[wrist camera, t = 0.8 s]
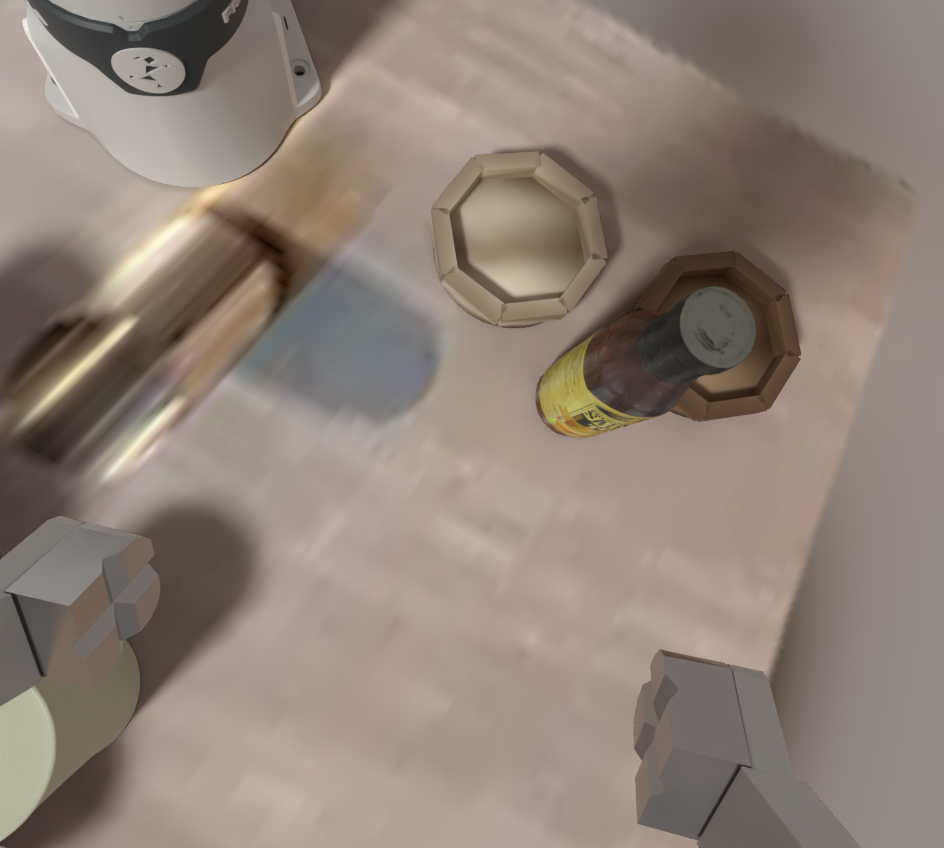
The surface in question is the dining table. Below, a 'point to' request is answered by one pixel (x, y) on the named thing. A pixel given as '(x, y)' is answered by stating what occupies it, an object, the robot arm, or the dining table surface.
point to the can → (59, 735)
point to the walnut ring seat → (774, 342)
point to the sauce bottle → (644, 363)
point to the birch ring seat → (517, 239)
